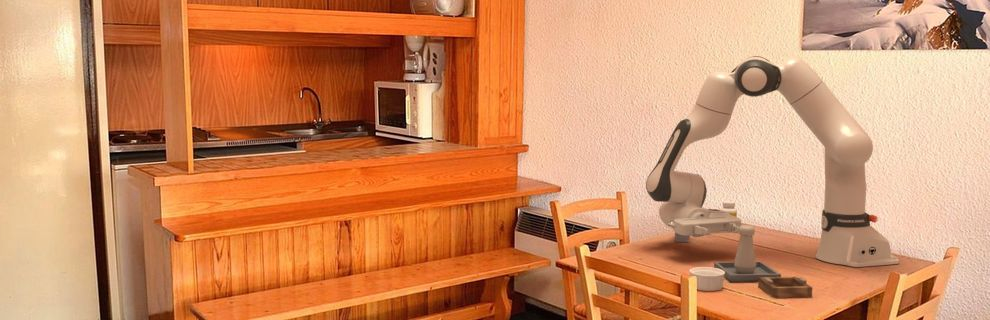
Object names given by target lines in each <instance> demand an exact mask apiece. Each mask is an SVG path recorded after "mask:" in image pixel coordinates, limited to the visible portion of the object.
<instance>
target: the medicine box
mask: <svg viewBox="0 0 990 320" xmlns="http://www.w3.org/2000/svg"><path fill="white" fill-rule="evenodd" d="M690 238H691V236H690V235H688V236H683V235H679V234H677V233H676V232H674V239H675V242H676V243H677V242H678V243H690V241H691V239H690Z"/></svg>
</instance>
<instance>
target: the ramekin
mask: <svg viewBox="0 0 990 320" xmlns="http://www.w3.org/2000/svg"><path fill="white" fill-rule="evenodd" d="M724 274H725V272H724V271H723V270H721V269H718V268H714V267H712V266H711V267H710V266H697V267H693V268H690V269H689V276H696V277H697V288H698V290H699V291H704V292H705V291H706V292H715V291H719V290H720V291H721V290H722V288H723V286H724V279H725V278H724Z"/></svg>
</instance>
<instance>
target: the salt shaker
mask: <svg viewBox="0 0 990 320" xmlns="http://www.w3.org/2000/svg"><path fill="white" fill-rule="evenodd" d="M755 232H756V230H755V227H754V226H753V225H747V224H746V225H745V224H743V225H741V226H740V227H739V230H738V233H737V234H738V235H740V236H739V240H738V245H737V249H736V254H735V259H734V261H733V262H734V266H735V269H736V271H737V273H739V274H753V272H754V270H755V268H756V255H755V253H756V252H755V245H754V238H753V236H754V235H755Z"/></svg>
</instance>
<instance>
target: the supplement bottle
mask: <svg viewBox="0 0 990 320" xmlns="http://www.w3.org/2000/svg"><path fill="white" fill-rule="evenodd" d="M735 207H736V202H735V201H733V200H732V201H731V200H723V201H722V208H720V210H722V211H723V213H726V214H730V215H732V216H735V217H737V216H738V211H737V209H736V208H735ZM737 218H738V217H737Z"/></svg>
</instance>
